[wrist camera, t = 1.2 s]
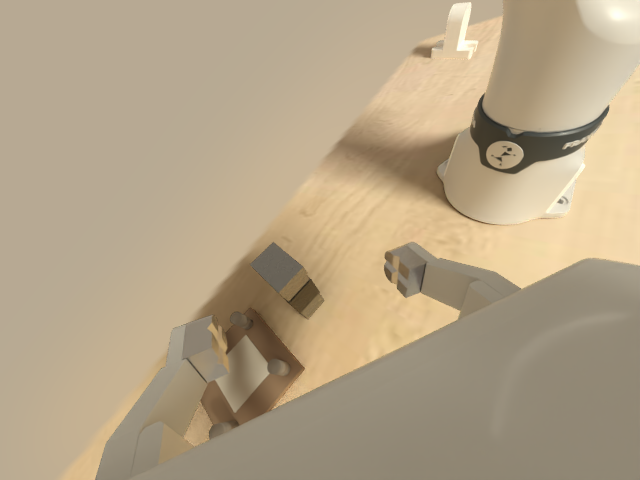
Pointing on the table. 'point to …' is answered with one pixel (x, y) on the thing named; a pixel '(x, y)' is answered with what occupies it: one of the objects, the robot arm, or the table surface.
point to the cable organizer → (456, 35)
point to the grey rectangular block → (288, 279)
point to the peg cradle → (249, 374)
